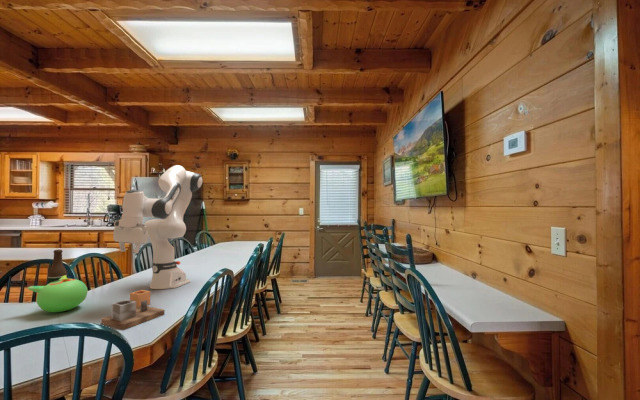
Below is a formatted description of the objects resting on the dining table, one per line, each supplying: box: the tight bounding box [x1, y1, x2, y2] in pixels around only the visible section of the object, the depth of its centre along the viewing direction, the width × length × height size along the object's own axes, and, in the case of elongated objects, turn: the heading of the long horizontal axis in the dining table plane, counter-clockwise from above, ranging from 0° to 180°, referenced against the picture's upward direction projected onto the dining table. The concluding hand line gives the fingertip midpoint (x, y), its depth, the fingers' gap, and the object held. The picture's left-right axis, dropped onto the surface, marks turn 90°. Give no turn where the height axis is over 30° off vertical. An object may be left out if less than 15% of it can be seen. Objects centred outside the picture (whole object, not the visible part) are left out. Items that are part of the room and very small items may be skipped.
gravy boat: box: [27, 275, 88, 313], centre depth 139 cm, size 18×17×15 cm
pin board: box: [100, 299, 165, 330], centre depth 130 cm, size 18×14×8 cm
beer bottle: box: [47, 249, 68, 284], centre depth 158 cm, size 8×8×24 cm
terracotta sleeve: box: [129, 289, 151, 307], centre depth 148 cm, size 6×6×6 cm
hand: (129, 252), depth 148 cm, fingers open, 8 cm apart
